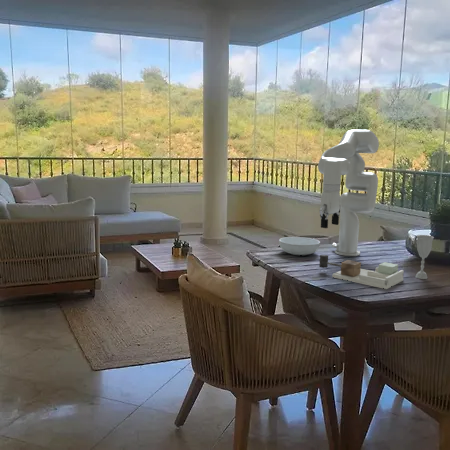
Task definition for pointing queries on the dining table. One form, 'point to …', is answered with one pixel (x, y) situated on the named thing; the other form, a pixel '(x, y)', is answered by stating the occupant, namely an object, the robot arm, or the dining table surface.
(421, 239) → the chalice
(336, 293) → the dining table surface
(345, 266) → the joystick
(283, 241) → the serving bowl
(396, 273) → the white joystick tray
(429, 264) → the dining table surface
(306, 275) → the dining table surface
